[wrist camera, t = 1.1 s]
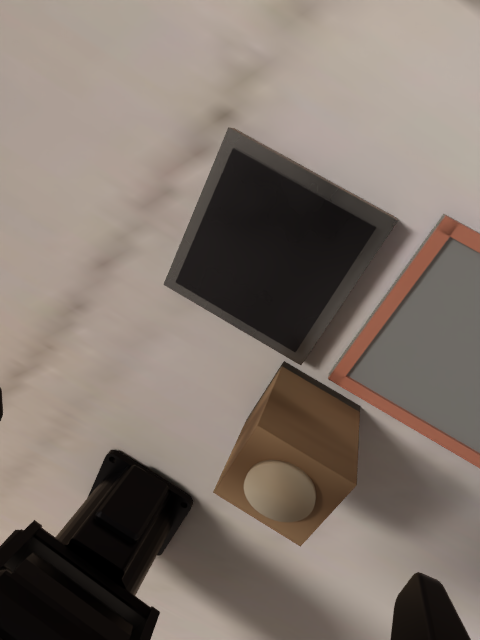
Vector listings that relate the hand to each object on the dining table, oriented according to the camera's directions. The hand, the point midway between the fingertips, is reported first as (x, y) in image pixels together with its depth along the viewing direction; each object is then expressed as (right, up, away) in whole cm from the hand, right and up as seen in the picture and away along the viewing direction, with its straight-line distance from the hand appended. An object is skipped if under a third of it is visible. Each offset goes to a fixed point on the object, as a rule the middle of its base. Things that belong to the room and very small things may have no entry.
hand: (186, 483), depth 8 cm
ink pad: (+3, +7, +11) cm, 13 cm away
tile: (+11, +2, +10) cm, 16 cm away
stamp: (+4, -2, +14) cm, 15 cm away
